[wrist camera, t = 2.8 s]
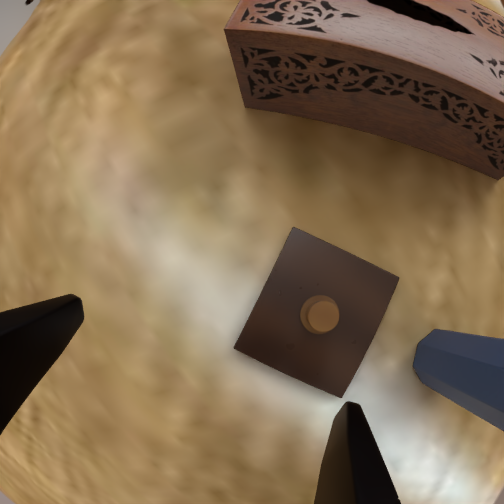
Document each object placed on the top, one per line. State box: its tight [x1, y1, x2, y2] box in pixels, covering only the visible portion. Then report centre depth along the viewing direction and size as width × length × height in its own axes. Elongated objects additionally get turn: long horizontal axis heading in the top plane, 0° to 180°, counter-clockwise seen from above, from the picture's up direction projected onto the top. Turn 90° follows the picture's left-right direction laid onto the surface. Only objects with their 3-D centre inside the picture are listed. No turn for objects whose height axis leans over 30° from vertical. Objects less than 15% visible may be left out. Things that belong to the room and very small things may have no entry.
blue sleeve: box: [413, 329, 504, 431], centre depth 15 cm, size 5×5×13 cm
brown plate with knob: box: [234, 227, 399, 398], centre depth 21 cm, size 10×9×4 cm
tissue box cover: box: [224, 0, 504, 180], centre depth 20 cm, size 26×14×10 cm, turn 75°
